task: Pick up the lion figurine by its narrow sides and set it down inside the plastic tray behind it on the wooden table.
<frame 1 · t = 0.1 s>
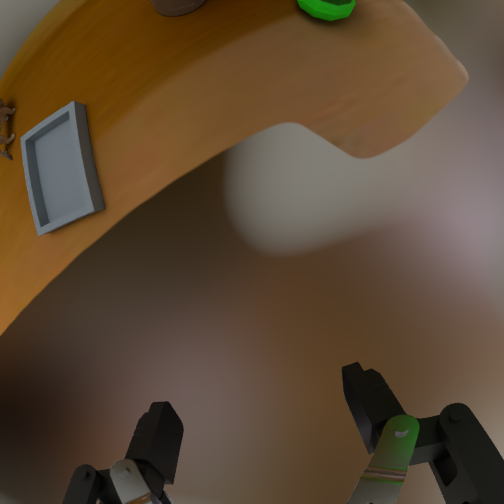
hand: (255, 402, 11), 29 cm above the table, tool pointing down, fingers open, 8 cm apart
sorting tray: (63, 169, 35), on the table
plastic bottle: (319, 9, 30), on the table
lion figurine: (9, 127, 32), on the table
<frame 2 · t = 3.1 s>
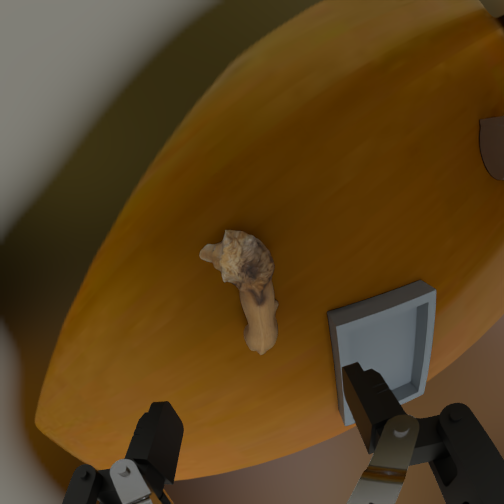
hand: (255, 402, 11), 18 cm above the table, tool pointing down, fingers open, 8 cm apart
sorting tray: (379, 353, 32), on the table
lion figurine: (249, 281, 29), on the table
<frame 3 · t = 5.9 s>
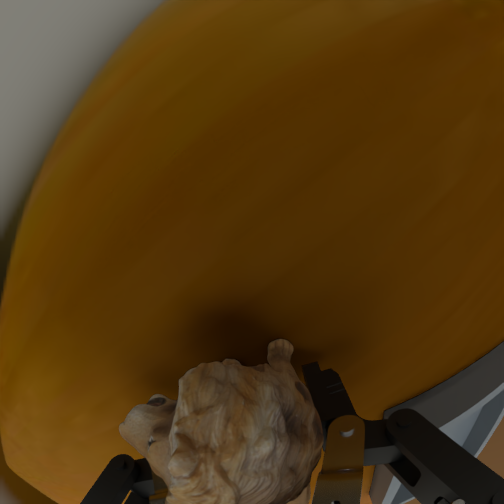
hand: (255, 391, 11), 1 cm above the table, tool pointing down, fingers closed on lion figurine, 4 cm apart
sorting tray: (435, 436, 16), on the table
lion figurine: (255, 395, 13), on the table, touching gripper
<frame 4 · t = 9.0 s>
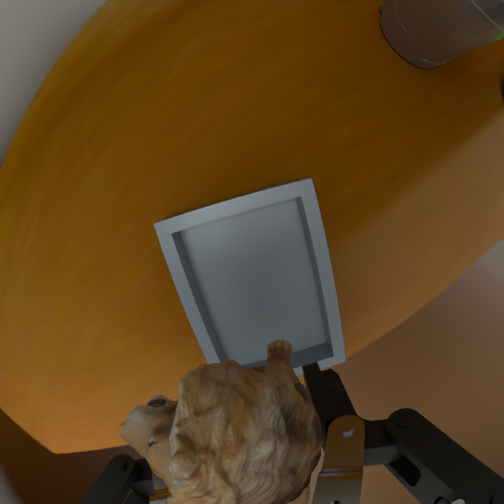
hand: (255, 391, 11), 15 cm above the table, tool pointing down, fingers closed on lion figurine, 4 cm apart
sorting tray: (259, 289, 26), on the table
lion figurine: (254, 395, 13), point 14 cm above the table, touching gripper
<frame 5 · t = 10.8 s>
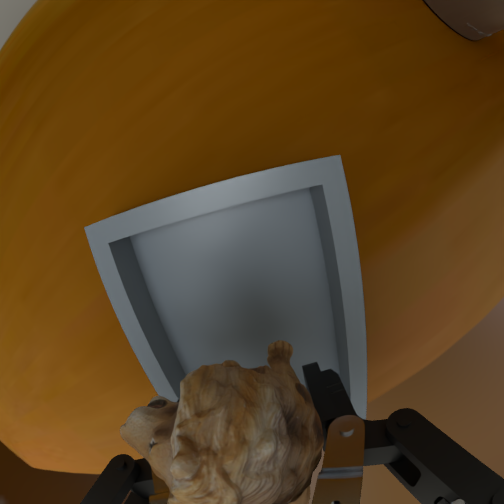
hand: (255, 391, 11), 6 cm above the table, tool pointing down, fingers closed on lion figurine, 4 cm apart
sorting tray: (249, 324, 17), on the table
lion figurine: (255, 396, 13), point 5 cm above the table, touching gripper
when the fingers open (4 cm above the table, at t = 12.2 s): lion figurine drops 1 cm, resting on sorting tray.
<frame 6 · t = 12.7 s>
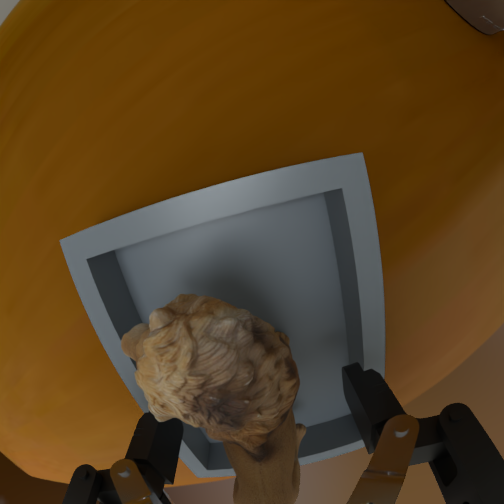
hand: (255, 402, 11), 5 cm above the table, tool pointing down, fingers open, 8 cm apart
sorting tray: (252, 347, 15), on the table
lion figurine: (255, 393, 14), point 2 cm above the table, touching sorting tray
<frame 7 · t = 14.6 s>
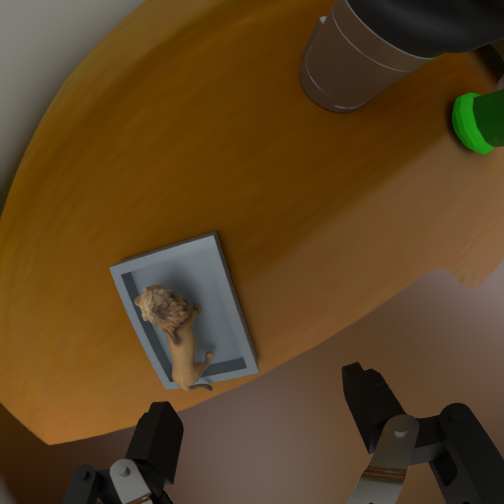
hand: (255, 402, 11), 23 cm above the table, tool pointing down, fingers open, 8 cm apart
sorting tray: (189, 313, 34), on the table
plastic bottle: (461, 126, 30), on the table
lion figurine: (190, 334, 33), point 2 cm above the table, touching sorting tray
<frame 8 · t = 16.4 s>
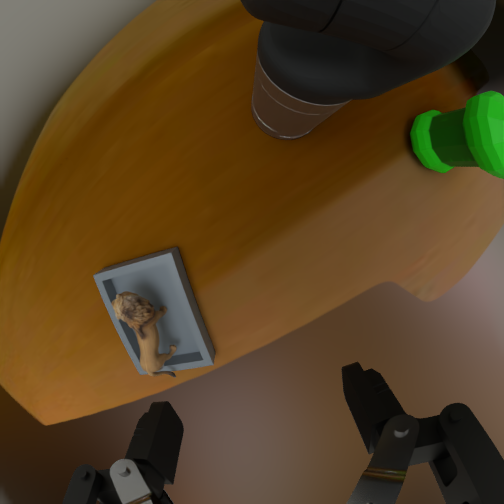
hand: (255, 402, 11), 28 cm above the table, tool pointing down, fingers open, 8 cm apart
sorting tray: (158, 312, 40), on the table
plastic bottle: (423, 143, 35), on the table
lion figurine: (158, 330, 39), point 2 cm above the table, touching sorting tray
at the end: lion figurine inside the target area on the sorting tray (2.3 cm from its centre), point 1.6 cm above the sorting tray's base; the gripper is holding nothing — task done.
